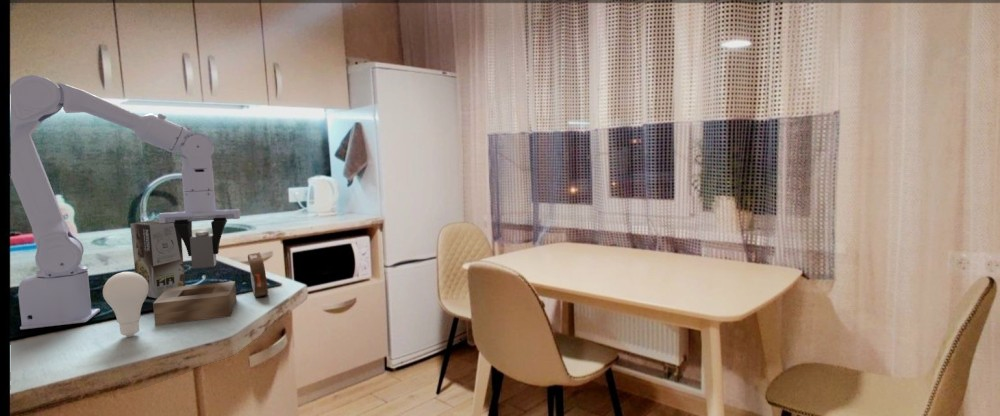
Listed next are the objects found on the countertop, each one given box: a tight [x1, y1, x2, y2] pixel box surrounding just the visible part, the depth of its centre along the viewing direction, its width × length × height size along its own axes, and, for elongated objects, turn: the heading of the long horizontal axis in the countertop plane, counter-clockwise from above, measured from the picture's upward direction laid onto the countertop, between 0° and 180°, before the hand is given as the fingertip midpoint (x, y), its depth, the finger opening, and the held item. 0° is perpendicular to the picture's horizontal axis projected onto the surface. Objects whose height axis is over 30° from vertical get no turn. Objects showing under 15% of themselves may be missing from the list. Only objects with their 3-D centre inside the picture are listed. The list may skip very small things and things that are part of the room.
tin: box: [247, 252, 269, 298], centre depth 111 cm, size 15×3×8 cm, turn 29°
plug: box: [190, 230, 217, 269], centre depth 107 cm, size 4×4×7 cm
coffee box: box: [130, 219, 186, 299], centre depth 112 cm, size 9×6×16 cm
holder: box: [152, 280, 237, 326], centre depth 98 cm, size 12×12×4 cm
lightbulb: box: [102, 271, 149, 338], centre depth 84 cm, size 6×6×11 cm
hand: (203, 254), depth 107 cm, fingers closed on plug, 4 cm apart
